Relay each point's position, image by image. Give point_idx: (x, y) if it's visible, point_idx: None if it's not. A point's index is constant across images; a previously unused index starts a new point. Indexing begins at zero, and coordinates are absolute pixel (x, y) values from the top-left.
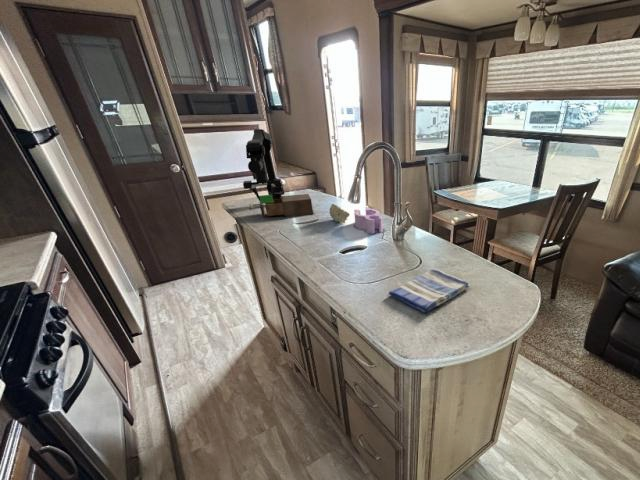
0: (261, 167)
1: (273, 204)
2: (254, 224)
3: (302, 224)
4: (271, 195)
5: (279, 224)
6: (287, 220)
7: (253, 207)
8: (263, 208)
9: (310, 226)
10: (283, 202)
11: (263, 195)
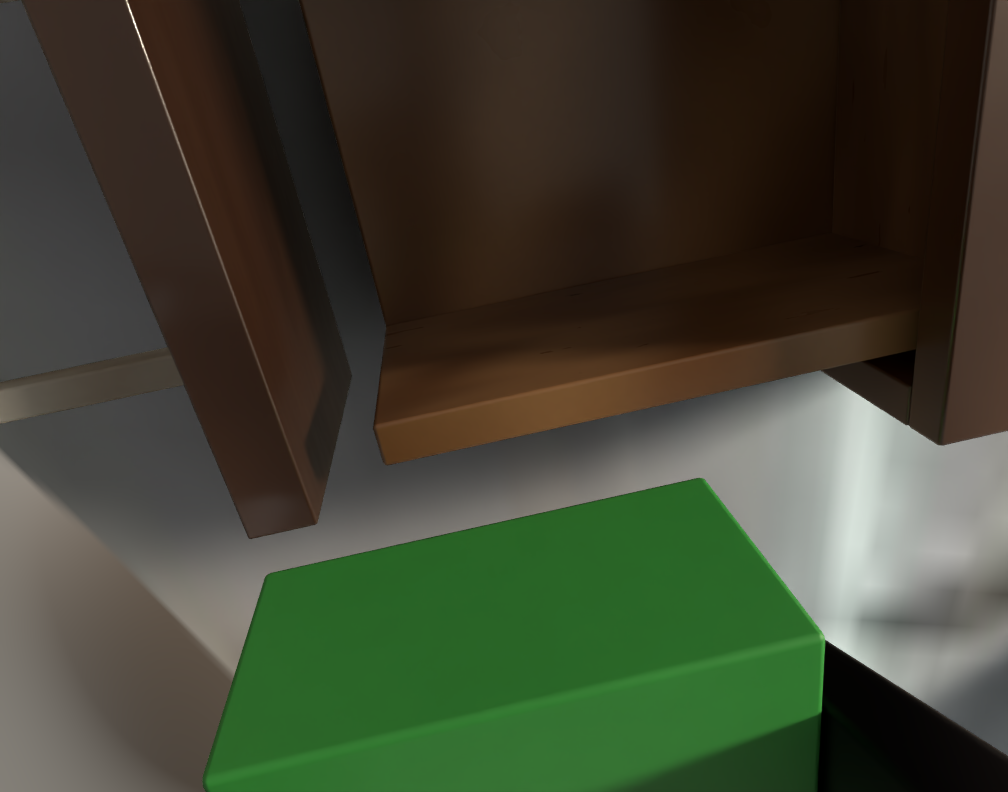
0: None
1: (635, 407)
2: (251, 617)
3: (926, 652)
4: (795, 762)
5: None
6: (752, 486)
7: (12, 412)
8: (251, 159)
9: (994, 713)
10: (955, 427)
11: (421, 759)
